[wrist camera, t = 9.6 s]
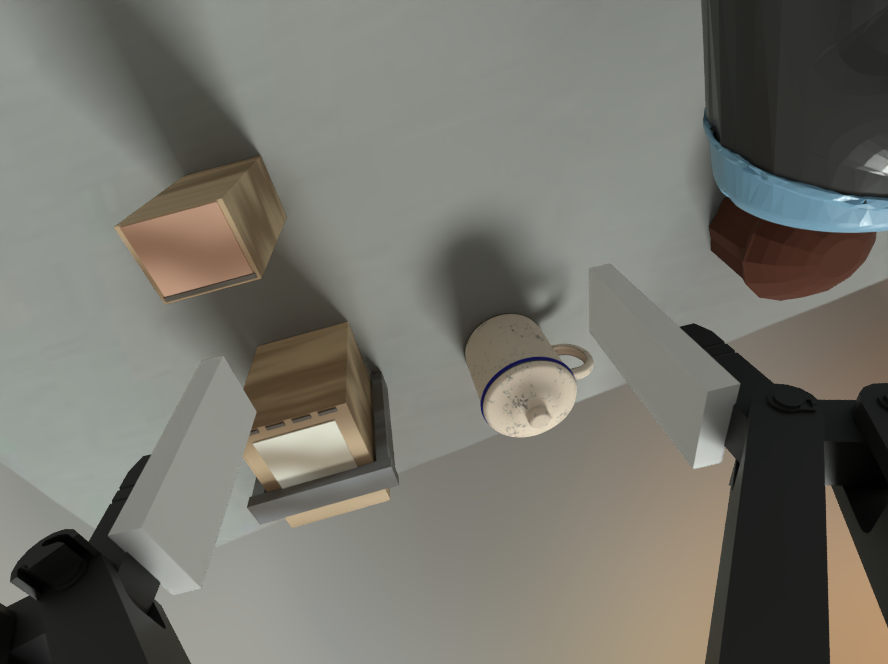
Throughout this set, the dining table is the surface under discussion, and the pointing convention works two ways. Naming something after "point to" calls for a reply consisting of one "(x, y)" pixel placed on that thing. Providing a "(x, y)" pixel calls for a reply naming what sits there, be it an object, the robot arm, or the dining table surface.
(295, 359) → the tan wooden crate
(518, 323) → the teacup with lid
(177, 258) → the pink-ended wooden block
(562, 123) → the dining table surface
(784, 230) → the muffin
